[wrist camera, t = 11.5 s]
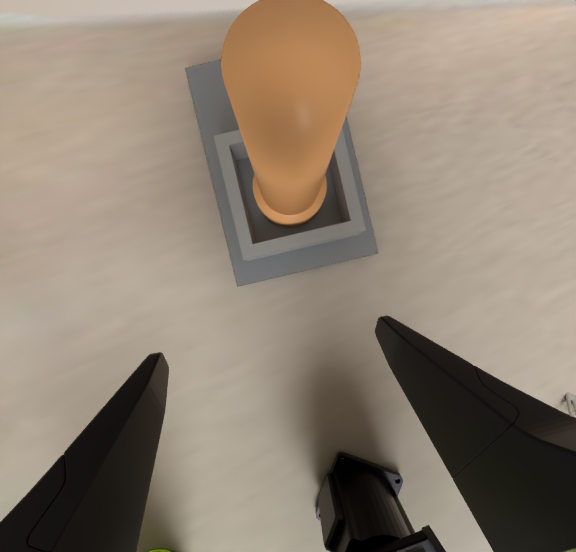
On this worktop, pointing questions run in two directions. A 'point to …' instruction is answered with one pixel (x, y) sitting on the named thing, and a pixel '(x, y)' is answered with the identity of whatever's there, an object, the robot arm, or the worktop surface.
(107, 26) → the worktop surface
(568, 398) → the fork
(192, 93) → the housing
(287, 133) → the orange knob handle
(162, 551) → the soap dispenser
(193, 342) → the worktop surface
